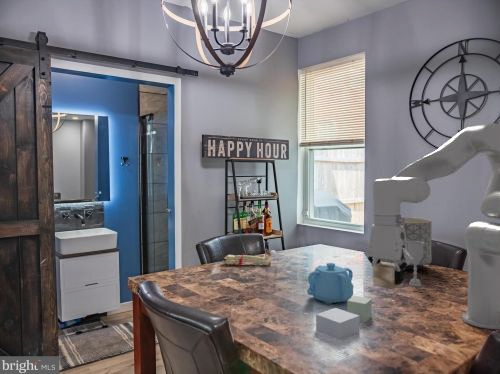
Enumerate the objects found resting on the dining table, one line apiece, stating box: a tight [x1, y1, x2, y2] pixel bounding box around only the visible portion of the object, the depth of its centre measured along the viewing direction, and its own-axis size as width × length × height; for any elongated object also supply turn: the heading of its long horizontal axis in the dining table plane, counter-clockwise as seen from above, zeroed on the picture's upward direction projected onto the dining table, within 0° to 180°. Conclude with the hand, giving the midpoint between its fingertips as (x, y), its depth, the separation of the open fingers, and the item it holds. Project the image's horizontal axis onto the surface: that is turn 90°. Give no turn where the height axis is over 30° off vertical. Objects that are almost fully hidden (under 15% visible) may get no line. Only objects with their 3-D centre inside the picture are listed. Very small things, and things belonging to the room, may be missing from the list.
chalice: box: [407, 241, 424, 287], centre depth 166 cm, size 7×7×18 cm
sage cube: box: [346, 295, 373, 323], centre depth 129 cm, size 6×6×6 cm
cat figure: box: [222, 250, 272, 267], centre depth 206 cm, size 10×9×25 cm
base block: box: [315, 307, 360, 340], centre depth 119 cm, size 9×9×5 cm
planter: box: [381, 216, 432, 271], centre depth 197 cm, size 25×25×24 cm
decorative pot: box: [306, 262, 354, 305], centre depth 148 cm, size 16×16×14 cm
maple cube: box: [372, 261, 404, 290], centre depth 117 cm, size 6×6×6 cm
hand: (388, 281), depth 117 cm, fingers closed on maple cube, 6 cm apart
